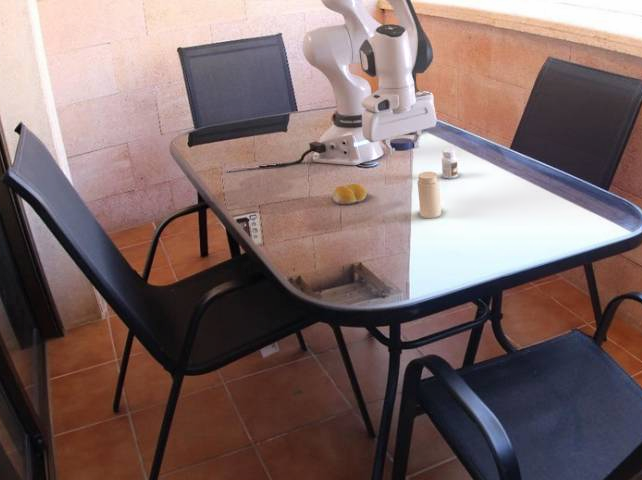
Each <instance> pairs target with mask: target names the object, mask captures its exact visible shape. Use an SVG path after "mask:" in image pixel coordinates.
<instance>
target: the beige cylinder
mask: <svg viewBox="0 0 642 480" xmlns="http://www.w3.org/2000/svg"><path fill="white" fill-rule="evenodd" d="M440 190H441V189H440V179H439V178H438V174H437V172H434V171H423V172H420V173H419V174H418V180H417V192H418V204H419V213H420V215H419V216H420V217H422V218H424V219H434V218H438V217H439V216H441V214H442V206H441V205H442V204H441V192H440Z"/></svg>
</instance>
